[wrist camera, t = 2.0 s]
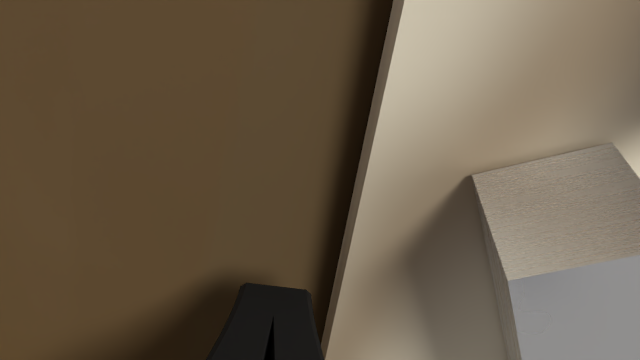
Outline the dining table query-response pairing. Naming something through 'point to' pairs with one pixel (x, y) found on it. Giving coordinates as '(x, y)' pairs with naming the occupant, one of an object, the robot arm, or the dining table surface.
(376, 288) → the board
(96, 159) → the dining table surface
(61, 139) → the dining table surface
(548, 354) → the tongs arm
